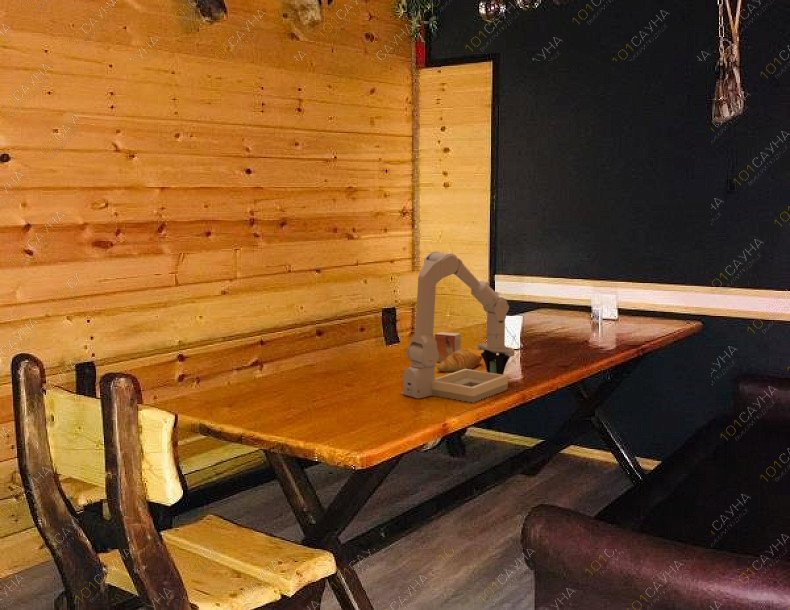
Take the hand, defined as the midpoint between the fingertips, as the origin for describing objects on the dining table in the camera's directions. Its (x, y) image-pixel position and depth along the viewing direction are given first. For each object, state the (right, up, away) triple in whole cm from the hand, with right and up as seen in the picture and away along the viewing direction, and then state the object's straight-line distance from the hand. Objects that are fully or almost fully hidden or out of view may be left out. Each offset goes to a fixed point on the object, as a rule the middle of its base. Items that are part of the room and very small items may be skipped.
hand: (495, 374), depth 267 cm
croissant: (-10, 0, +22) cm, 24 cm away
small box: (-13, +2, +32) cm, 35 cm away
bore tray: (-10, -4, -11) cm, 16 cm away
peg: (0, -3, 0) cm, 3 cm away
